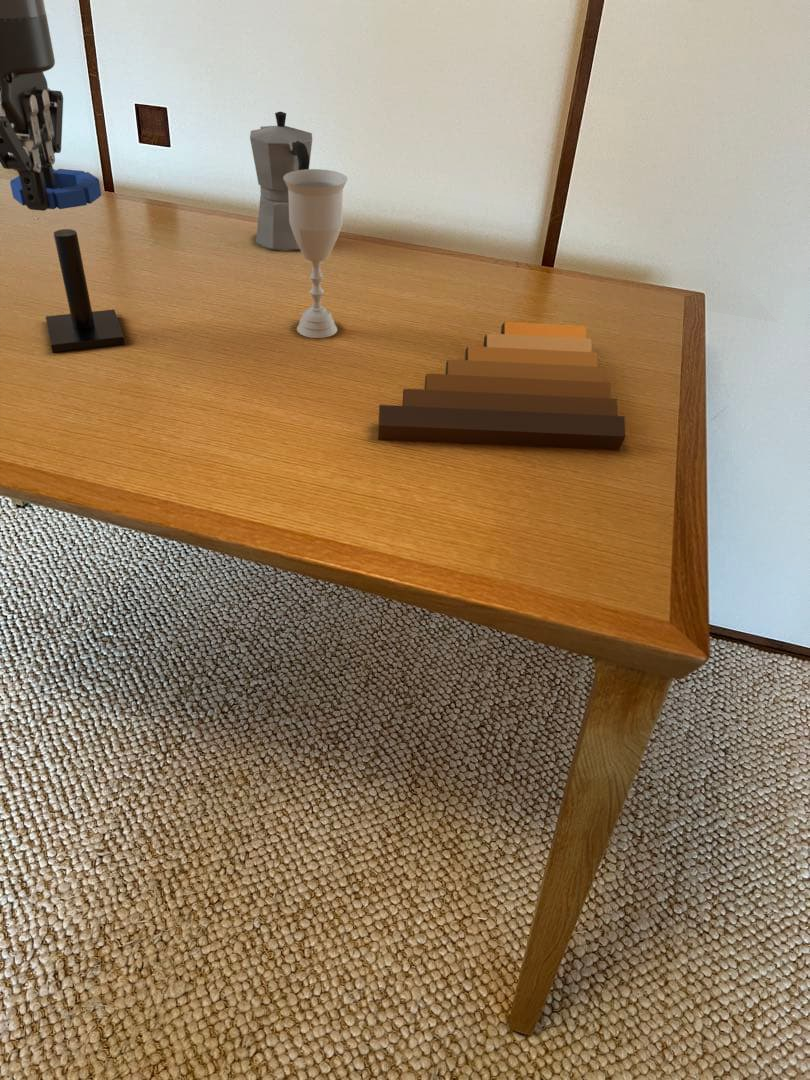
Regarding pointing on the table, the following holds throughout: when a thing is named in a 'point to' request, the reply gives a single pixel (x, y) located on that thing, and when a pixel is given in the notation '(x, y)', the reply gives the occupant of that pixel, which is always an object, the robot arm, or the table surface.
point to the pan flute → (514, 395)
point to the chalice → (316, 234)
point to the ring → (65, 189)
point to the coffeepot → (277, 179)
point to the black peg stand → (79, 305)
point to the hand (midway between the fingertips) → (43, 205)
